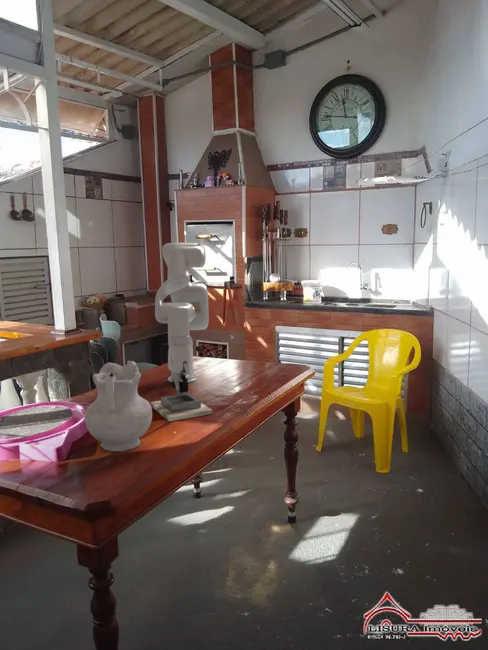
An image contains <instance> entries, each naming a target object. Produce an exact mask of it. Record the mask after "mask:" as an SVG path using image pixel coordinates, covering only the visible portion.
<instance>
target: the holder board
mask: <svg viewBox="0 0 488 650" xmlns="http://www.w3.org/2000/svg"><path fill="white" fill-rule="evenodd" d="M185 402H187V401H185ZM179 403H183V402H179ZM174 404H177V403H174ZM150 405H151V408H152V409H153V410H155V411H156V412H158V413H159V414H160V415H161V416H162V417H163V418H164V419H166V420H167V421H168V422H173V421H174V422H175V421H180V420H185V419H191V418H196V417H203V416H206V415H207V416H208V415H209V416H210V415H212V414H213V409H212V408H211V407H209V406H207V405H206V404H204V403H202V402H201V408H196V409H191V410H185V411H179V412H173V413H172V412H170V411H169V410H168V409H166V408H165V407H164V406H163V405H161V400H158V401H157V400H156V401H151V402H150Z"/></svg>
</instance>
